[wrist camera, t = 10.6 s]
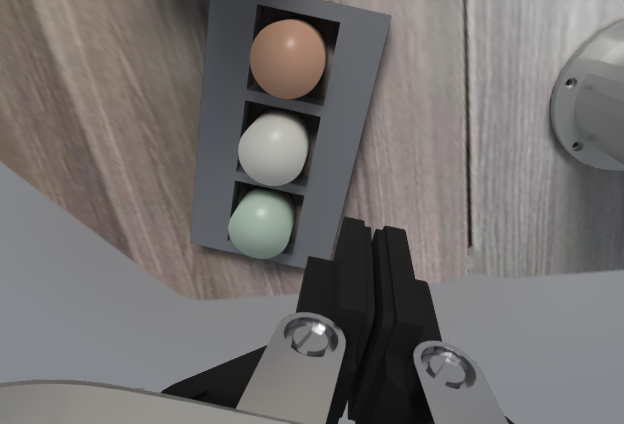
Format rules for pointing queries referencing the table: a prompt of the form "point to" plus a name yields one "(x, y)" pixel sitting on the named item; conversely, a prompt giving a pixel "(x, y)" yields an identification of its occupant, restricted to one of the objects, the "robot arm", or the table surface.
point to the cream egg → (274, 147)
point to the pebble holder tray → (240, 92)
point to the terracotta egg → (288, 58)
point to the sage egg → (262, 222)
